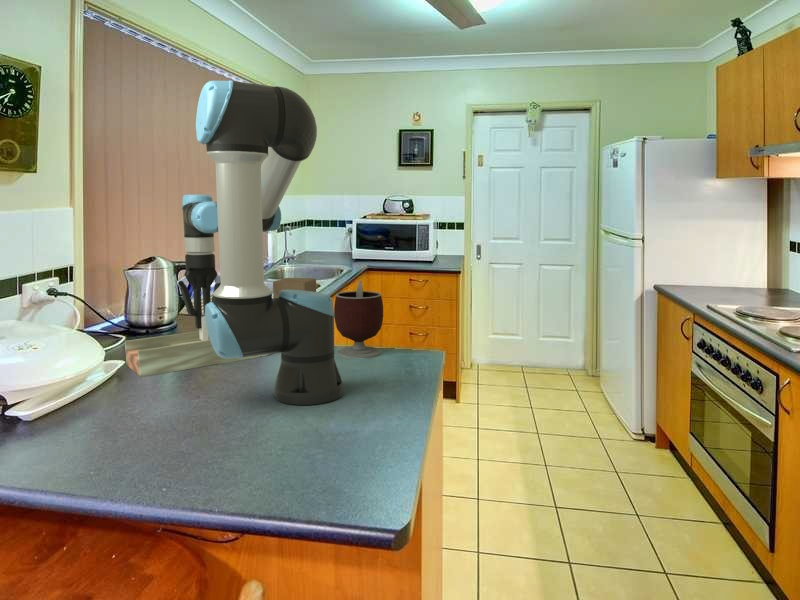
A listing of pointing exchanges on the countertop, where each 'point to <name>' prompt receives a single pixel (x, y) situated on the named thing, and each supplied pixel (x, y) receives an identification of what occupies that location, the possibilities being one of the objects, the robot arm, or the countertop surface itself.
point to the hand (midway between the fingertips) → (204, 339)
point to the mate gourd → (358, 320)
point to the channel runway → (172, 354)
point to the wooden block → (294, 285)
